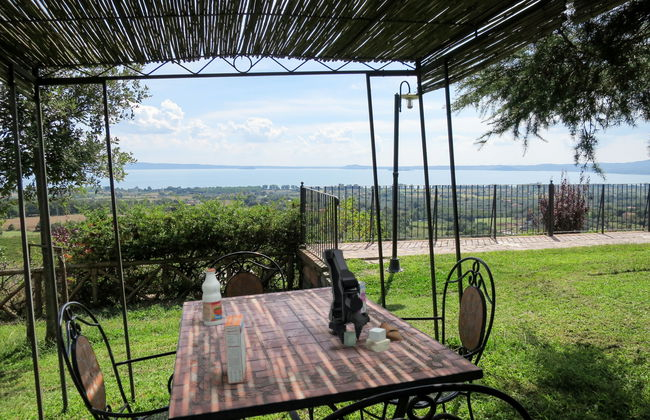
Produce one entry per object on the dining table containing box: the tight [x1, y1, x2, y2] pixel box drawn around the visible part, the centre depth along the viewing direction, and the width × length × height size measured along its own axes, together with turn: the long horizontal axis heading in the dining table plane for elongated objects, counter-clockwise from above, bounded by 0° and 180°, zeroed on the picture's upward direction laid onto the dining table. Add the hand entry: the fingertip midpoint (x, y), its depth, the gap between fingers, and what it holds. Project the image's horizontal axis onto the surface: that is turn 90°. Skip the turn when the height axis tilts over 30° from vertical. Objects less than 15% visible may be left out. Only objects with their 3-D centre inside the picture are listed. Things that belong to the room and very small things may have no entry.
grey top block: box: [368, 326, 386, 342], centre depth 197 cm, size 5×5×4 cm
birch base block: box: [365, 338, 391, 353], centre depth 197 cm, size 7×7×4 cm
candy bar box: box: [352, 280, 368, 313], centre depth 255 cm, size 11×5×16 cm, turn 41°
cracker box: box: [223, 314, 248, 385], centre depth 174 cm, size 14×6×21 cm, turn 5°
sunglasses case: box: [379, 322, 404, 342], centre depth 214 cm, size 18×7×7 cm
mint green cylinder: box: [344, 330, 357, 347], centre depth 204 cm, size 5×5×5 cm
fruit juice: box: [201, 267, 223, 327], centre depth 244 cm, size 9×9×28 cm
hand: (350, 341), depth 204 cm, fingers open, 8 cm apart
